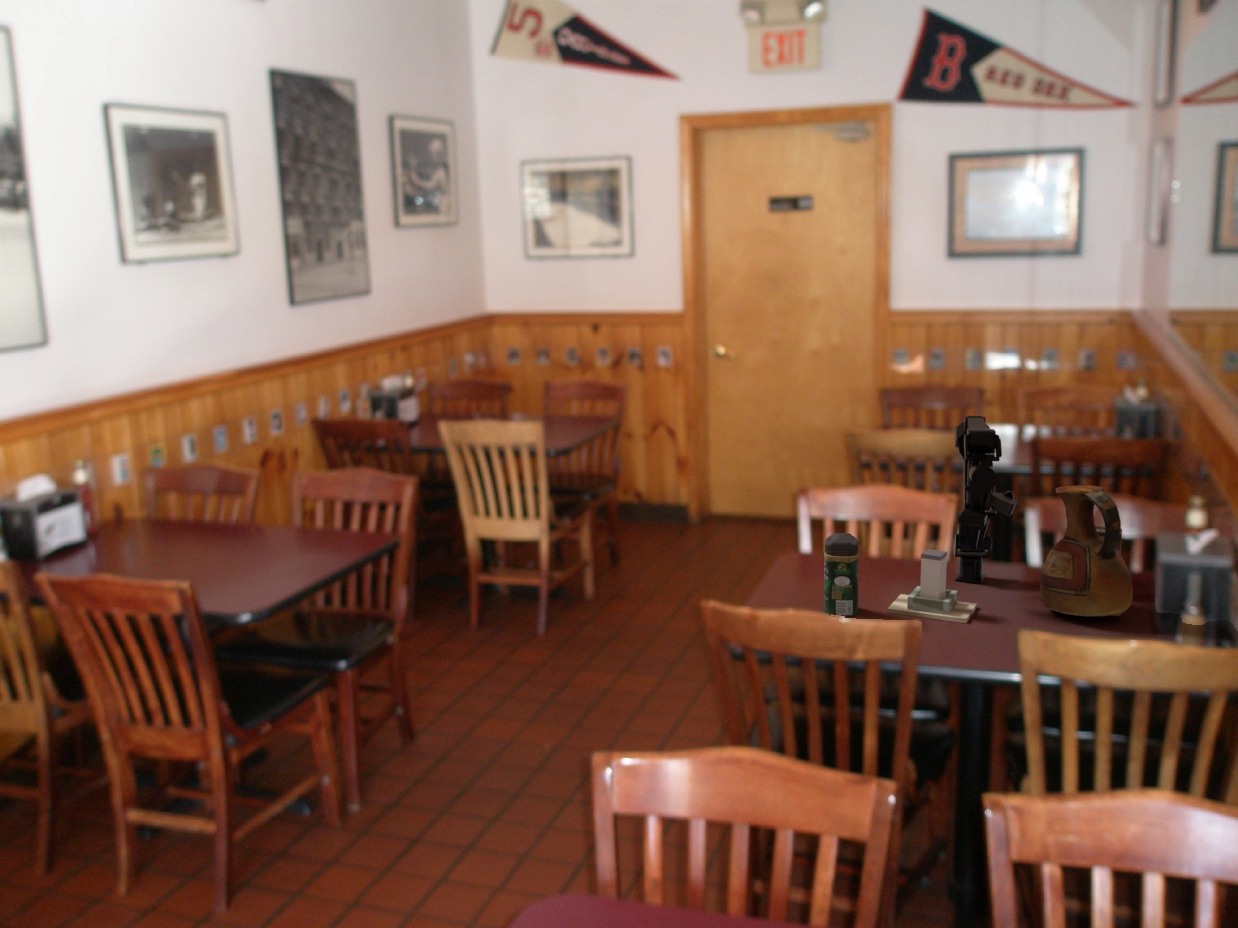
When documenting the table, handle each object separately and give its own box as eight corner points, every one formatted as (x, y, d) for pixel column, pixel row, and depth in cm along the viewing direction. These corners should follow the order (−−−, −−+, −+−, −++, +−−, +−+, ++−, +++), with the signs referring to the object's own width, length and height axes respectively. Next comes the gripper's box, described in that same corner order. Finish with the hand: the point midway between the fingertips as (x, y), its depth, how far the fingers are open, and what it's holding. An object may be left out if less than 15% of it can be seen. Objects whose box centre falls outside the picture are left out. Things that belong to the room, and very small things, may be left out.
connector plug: (926, 601, 270) (928, 548, 268) (945, 604, 268) (947, 551, 265) (919, 607, 267) (921, 553, 264) (938, 610, 264) (940, 556, 262)
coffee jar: (824, 604, 273) (825, 529, 270) (857, 606, 272) (859, 530, 268) (822, 618, 264) (823, 540, 260) (857, 619, 262) (859, 541, 259)
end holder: (900, 597, 277) (901, 582, 276) (976, 607, 269) (977, 591, 268) (887, 612, 267) (887, 596, 266) (966, 623, 258) (966, 606, 257)
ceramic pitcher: (1079, 594, 276) (1086, 474, 270) (1151, 618, 258) (1160, 489, 252) (1020, 608, 267) (1026, 483, 261) (1090, 633, 250) (1098, 501, 244)
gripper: (1007, 492, 259) (1004, 558, 262) (1021, 476, 275) (1018, 539, 278) (957, 488, 264) (955, 553, 267) (974, 473, 280) (972, 534, 283)
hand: (977, 545), depth 274 cm, fingers open, 9 cm apart
